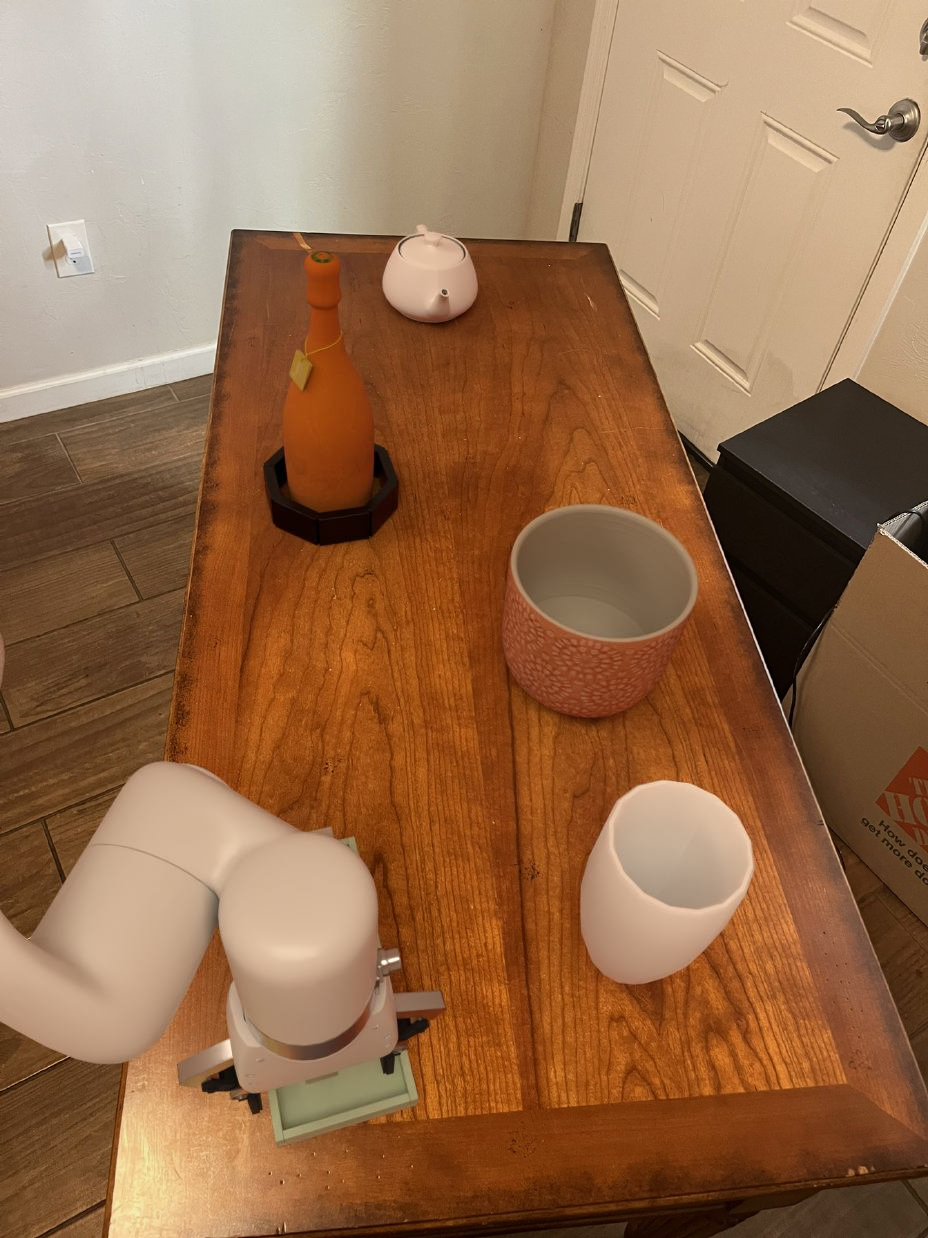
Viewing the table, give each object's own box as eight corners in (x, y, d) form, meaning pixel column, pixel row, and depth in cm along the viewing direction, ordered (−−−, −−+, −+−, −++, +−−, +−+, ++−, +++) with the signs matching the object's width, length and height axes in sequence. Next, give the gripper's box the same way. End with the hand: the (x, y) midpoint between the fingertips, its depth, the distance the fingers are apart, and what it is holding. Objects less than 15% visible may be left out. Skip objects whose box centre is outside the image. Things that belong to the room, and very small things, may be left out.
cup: (523, 973, 75) (567, 849, 59) (596, 881, 81) (654, 745, 65) (632, 1063, 72) (710, 958, 55) (700, 960, 77) (790, 838, 61)
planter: (477, 615, 99) (492, 509, 88) (629, 600, 103) (663, 496, 91) (513, 751, 89) (535, 651, 77) (682, 730, 92) (727, 631, 80)
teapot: (373, 268, 142) (374, 198, 134) (462, 266, 145) (468, 198, 137) (393, 353, 129) (395, 281, 120) (490, 350, 131) (499, 278, 123)
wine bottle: (298, 464, 112) (281, 222, 90) (380, 475, 112) (383, 235, 90) (279, 520, 106) (255, 275, 83) (365, 532, 106) (365, 290, 83)
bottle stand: (280, 552, 103) (277, 526, 100) (259, 467, 112) (256, 440, 109) (407, 533, 107) (408, 507, 103) (377, 451, 115) (378, 425, 112)
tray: (277, 1148, 66) (275, 1142, 65) (234, 874, 79) (232, 864, 77) (417, 1105, 69) (418, 1098, 67) (354, 846, 81) (354, 836, 80)
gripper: (439, 886, 57) (425, 985, 70) (142, 960, 53) (186, 1051, 66) (476, 1009, 53) (453, 1091, 66) (154, 1101, 48) (199, 1169, 61)
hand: (320, 1071), depth 66 cm, fingers open, 8 cm apart
